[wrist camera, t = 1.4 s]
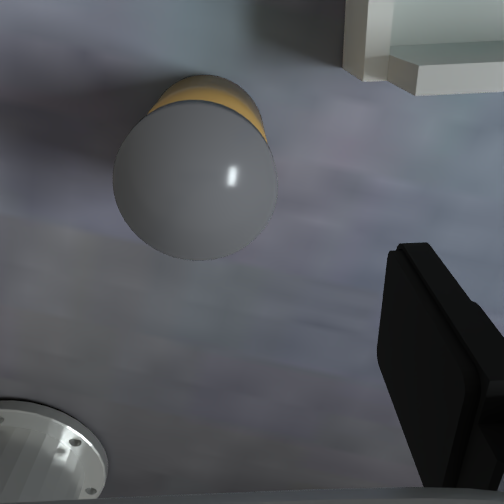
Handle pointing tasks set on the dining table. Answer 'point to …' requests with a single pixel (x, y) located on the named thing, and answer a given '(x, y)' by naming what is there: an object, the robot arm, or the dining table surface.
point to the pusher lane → (426, 44)
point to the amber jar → (197, 171)
